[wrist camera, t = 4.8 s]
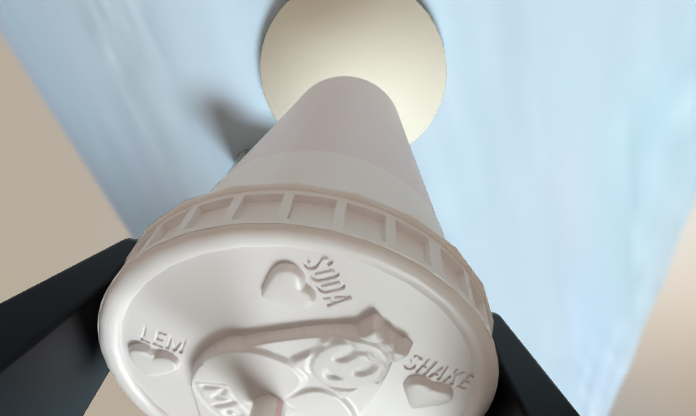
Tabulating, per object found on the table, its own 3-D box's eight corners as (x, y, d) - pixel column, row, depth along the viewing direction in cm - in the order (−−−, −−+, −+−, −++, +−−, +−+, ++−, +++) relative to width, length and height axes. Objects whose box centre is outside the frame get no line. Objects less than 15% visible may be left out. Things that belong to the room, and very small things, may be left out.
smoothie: (216, 122, 15) (-350, 814, 4) (349, -20, 12) (-294, 1111, 1) (343, 234, 17) (252, 869, 6) (480, 137, 15) (818, 992, 3)
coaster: (415, 173, 21) (415, 177, 21) (255, 139, 21) (253, 142, 21) (473, 0, 17) (475, 1, 17) (270, -47, 17) (268, -47, 16)
